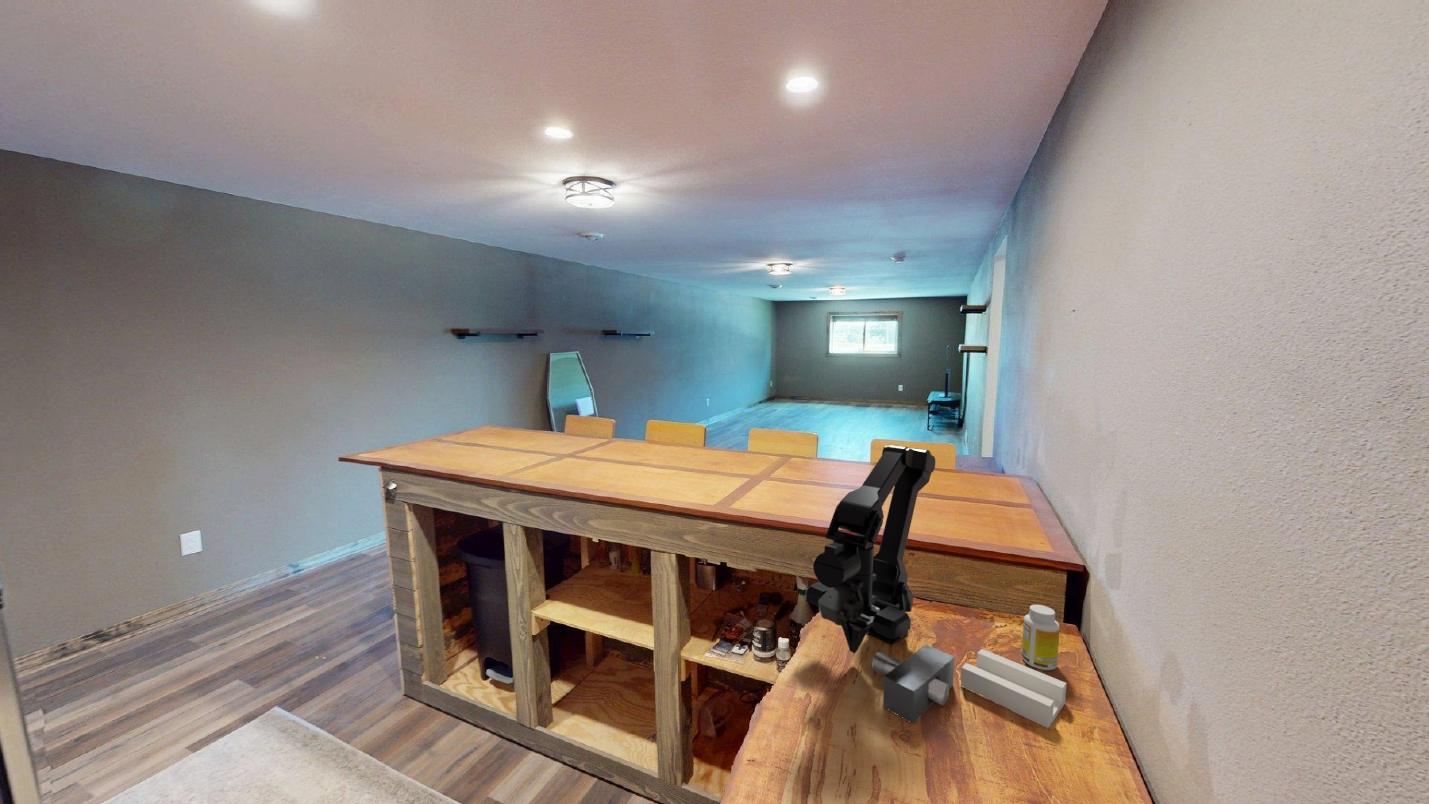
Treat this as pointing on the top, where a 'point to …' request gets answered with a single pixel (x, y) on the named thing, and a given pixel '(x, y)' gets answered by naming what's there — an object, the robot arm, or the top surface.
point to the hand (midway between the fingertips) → (853, 651)
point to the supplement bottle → (1040, 638)
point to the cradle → (1015, 687)
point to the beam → (916, 682)
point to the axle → (886, 664)
